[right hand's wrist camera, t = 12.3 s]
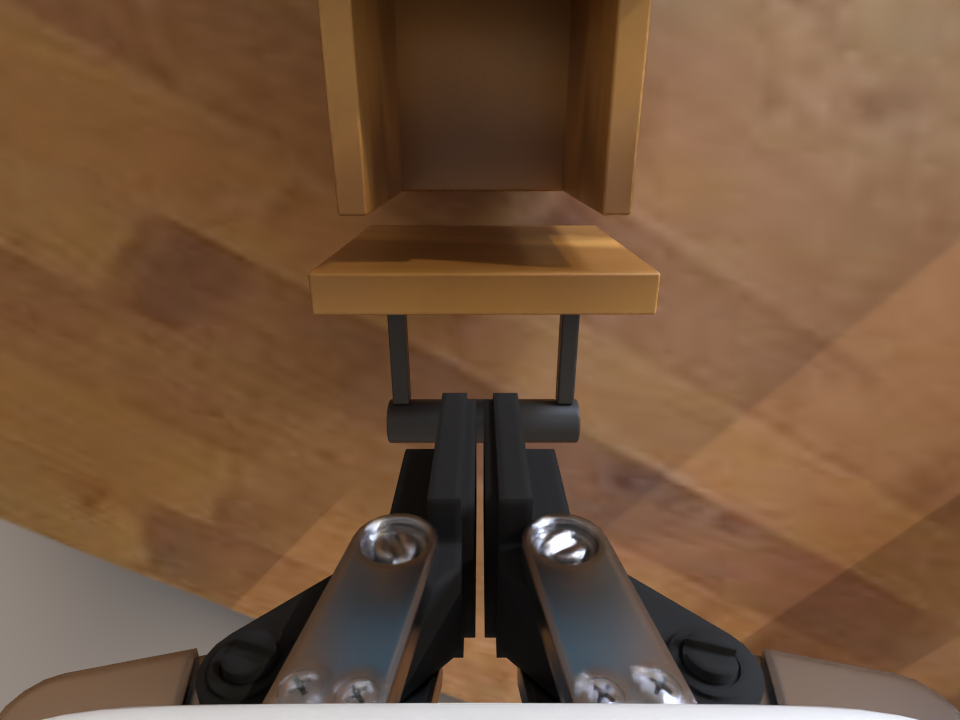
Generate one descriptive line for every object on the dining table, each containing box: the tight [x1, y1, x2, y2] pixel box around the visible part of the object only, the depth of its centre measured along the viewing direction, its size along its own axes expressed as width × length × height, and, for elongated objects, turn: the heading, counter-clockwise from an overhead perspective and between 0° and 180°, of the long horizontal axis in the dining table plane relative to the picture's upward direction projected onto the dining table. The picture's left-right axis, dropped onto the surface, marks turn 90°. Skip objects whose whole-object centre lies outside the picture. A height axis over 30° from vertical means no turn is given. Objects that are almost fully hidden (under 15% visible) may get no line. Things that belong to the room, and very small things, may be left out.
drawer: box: [308, 0, 660, 443], centre depth 18 cm, size 23×10×9 cm, turn 0°
